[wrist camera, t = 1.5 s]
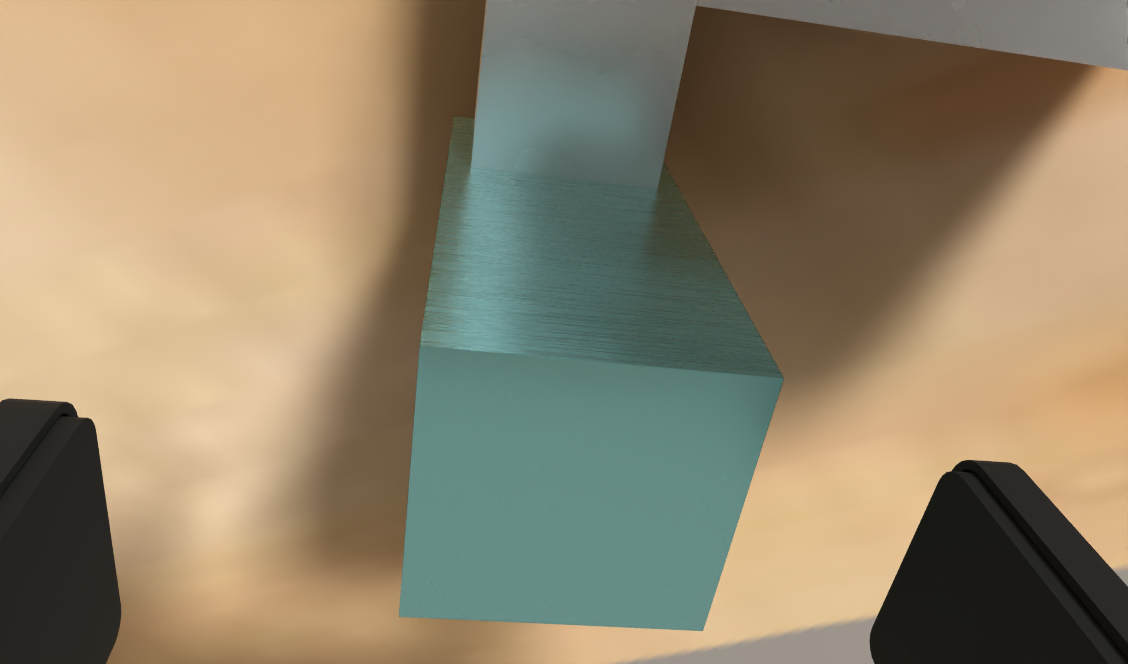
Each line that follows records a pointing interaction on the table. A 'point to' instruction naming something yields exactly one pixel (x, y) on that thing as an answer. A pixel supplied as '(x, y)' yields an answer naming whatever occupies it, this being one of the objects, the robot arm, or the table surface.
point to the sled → (611, 315)
